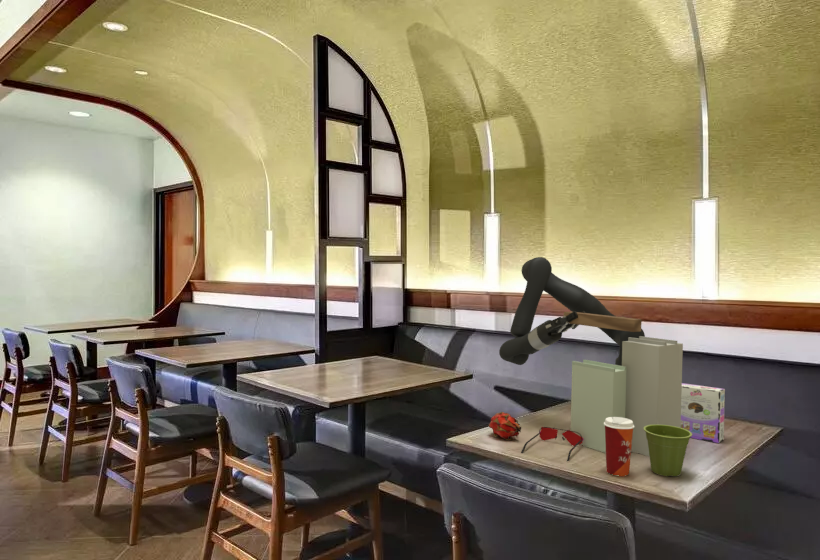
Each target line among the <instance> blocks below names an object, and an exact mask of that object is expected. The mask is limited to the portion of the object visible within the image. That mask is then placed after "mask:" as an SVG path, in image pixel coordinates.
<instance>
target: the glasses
mask: <svg viewBox="0 0 820 560" xmlns="http://www.w3.org/2000/svg"><path fill="white" fill-rule="evenodd" d="M558 430H560V431H564V432H562V433H561V435H562V440H563V441H567V442H568V443H569V444H570V446H572V445H573V447H572V448H571V449H570V450H569V451H568V454H567V459H566V462H567V461H569V462H570V458H571V454H572V451H573V450H575V449H576V447H577V446H578V445H579V444H581V443H582V441H583V440H584V439H583V437H582V436H581V434H580V433H578V432H576V433H578V434H580V436H579V435H577V434H575V433H574V432H575V431H571V429H562V428H561V429H560V428H555V427H549V426H541V427H540V428H539V431H538V433H537V434H536V435H534V436H533V437H532V438H530V439H528V440H527V441H526V442H525V443H524V445H523V447H522V449H521V452H520V453H521V454H523V453H524V452H525V450H526V447H527V445H528V444H529V443H530V442H531V441H533V440H534V439H535V438H536V437H539V438H540V440H541V441H542V440H544V441H549V440H553V439H557V438H558V432H559V431H558Z"/></svg>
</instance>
